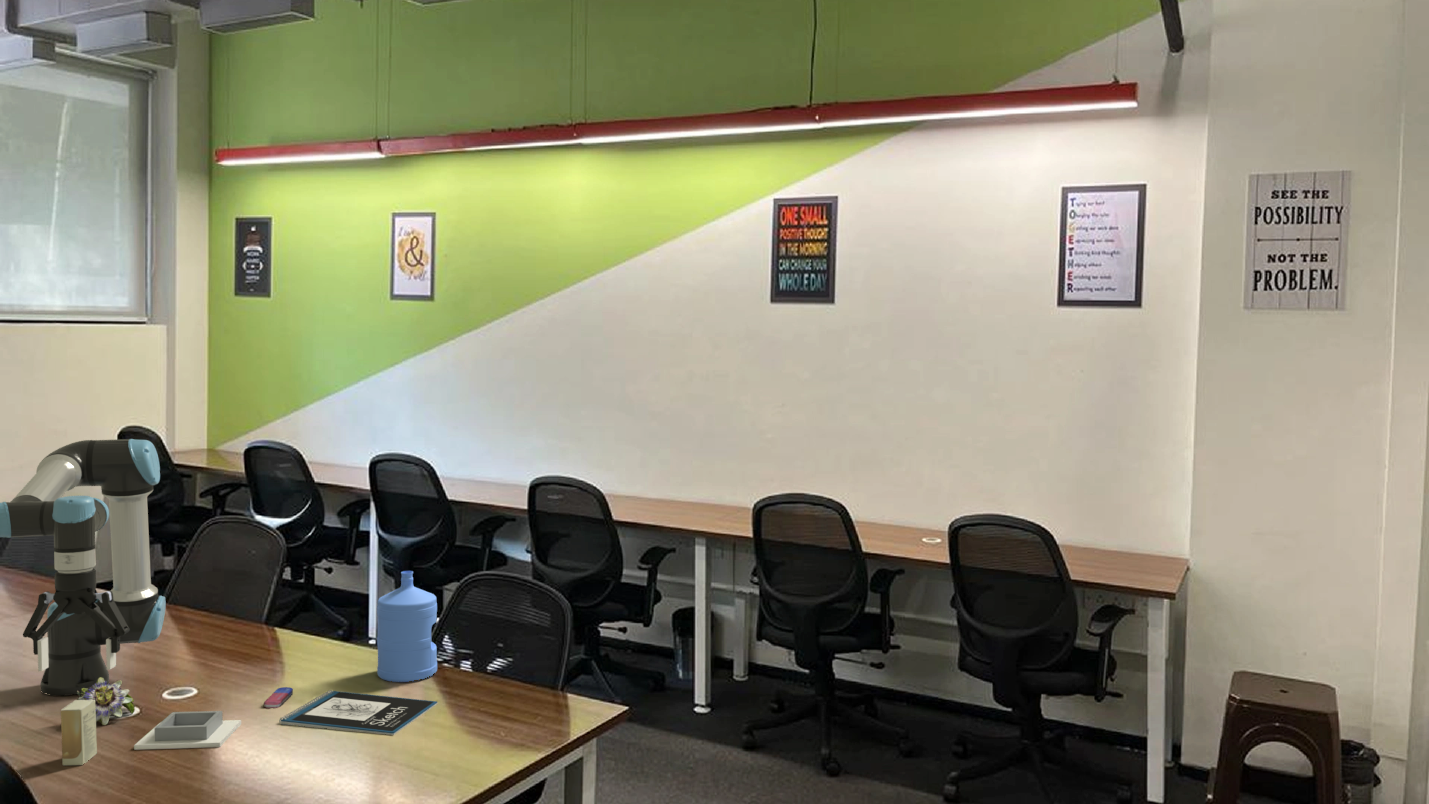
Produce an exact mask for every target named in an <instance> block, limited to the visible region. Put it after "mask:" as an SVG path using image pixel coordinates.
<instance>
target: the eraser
mask: <svg viewBox="0 0 1429 804" xmlns="http://www.w3.org/2000/svg"><path fill="white" fill-rule="evenodd" d="M293 694H294V688H292V687H290V686H289V687H287V686H285V687H278V688H277V689H276V690H274V691H273V693H272V694H271V695H270V696H269V697H268V698H266V699H265V700H264V702H263V706H264V708H266V709H270V708H273V709H278V708H280V707H282V706H283V705H284V704H285V703H286V702H287V701H288V700H289V699H290V698H291V697H292V696H293Z"/></svg>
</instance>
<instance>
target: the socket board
mask: <svg viewBox="0 0 1429 804" xmlns="http://www.w3.org/2000/svg"><path fill="white" fill-rule="evenodd" d="M241 725H242V719H236V720H235V719H231V720H230V719H229V720H228V719H226V720H223V710H210V711H209V710H208V711H207V710H206V711H199V710H198V711H173V712H171V713H170V714H169V715H168V716H167V717H165V718H164V719H163V720H162V721H160V722H159V723H158V724H157V725H155V726H154V727H153V728H152V729H151V730H150V731H149V732H148V733H146V734H145V735H144V736H143V737H142V738H140V739H139V740H138V741H137V742H136V743H135V744H134V745H133V749H134V751H135V750H136V751H139V750H165V749H170V750H171V749H198V748H199V749H200V748H201V749H202V748H203V749H204V748H221V747H222V745H223V744H224V743H225V742H226V741H227V740H228V739H230V737H231V736H232V735H233V734H234V733H235V732H236V731H237V730H238V728H239V727H241ZM233 732H234V733H233ZM231 734H232V735H231Z"/></svg>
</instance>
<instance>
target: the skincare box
mask: <svg viewBox="0 0 1429 804" xmlns="http://www.w3.org/2000/svg"><path fill="white" fill-rule="evenodd" d="M60 723H61V724H60V725H61V726H60V727H61V729H60V730H61V754H62V755H61V757H62V759H61V760H62V763H61V764H62V766H83V764H84V763H85V764H86V763H88V762H89V761H90V760H91V759H92V758H94V756H96V755H97V754H98V747H97V746H98V745H97V722H96V710H95V700H77V699H75V700H73V701H72V702H70V703H68V704H67V705H66V706H64V707H63V708H61V710H60ZM88 760H89V761H88ZM85 764H84V765H85Z"/></svg>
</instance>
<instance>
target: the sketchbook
mask: <svg viewBox="0 0 1429 804" xmlns="http://www.w3.org/2000/svg"><path fill="white" fill-rule="evenodd" d="M436 705H438V701H436V700H435V701H434V700H426V699H425V700H424V699H418V698H415V699H414V698H406V697H399V696H398V697H397V696H387V695H377V694H367V693H359V692H357V693H356V692H350V691H349V692H347V691H339V690H337V691H336V690H331V689H330V690H327V691H326V692H324V693H322V694H321V695H319V696H317V697H315V698H314V699H311V700H309V701H308V702H307V703H304V704H303V705H301V706H300V707H297V708H296V709H294V710H292V711H291V712H289V713H286V714H285V715H283V716H282V717H280V718H279V724H280V725H284V726H293V725H295V727H304V726H305V728H313V727H314V729H315V728H316V729H324V728H327V729H326V730H335V729H336V731H345V732H356V733H364V734H365V733H367V734H378V735H385V734H386V736H395V735H396V734H397V733H399V732H401V731H402V730H403V729H405V728H406V727H408V726H409V725H410V724H412V723H413V722H414V721H416V720H417V719H419V718H420V717H421V716H423V715H424V714H425V713H427V712H429V711H430V710H431V709H433V708H434V707H436ZM422 714H423V715H422ZM419 716H420V717H419ZM418 717H419V718H418ZM415 719H416V720H415ZM411 722H412V723H411ZM296 725H298V726H296Z"/></svg>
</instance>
